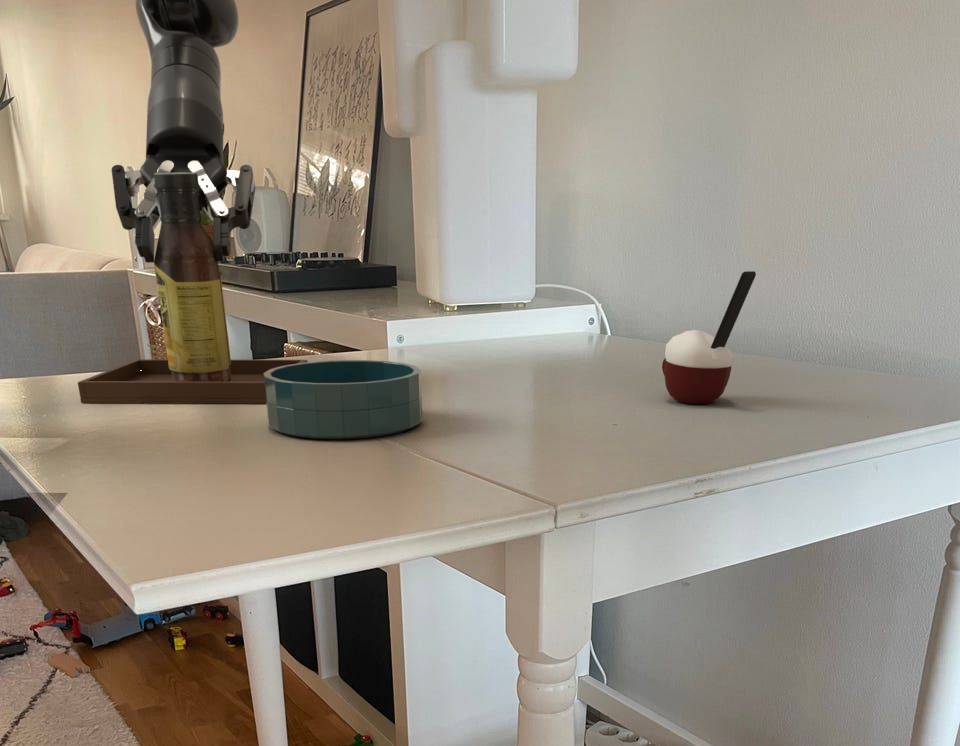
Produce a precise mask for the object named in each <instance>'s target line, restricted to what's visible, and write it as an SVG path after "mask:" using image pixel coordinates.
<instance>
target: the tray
mask: <svg viewBox="0 0 960 746" xmlns="http://www.w3.org/2000/svg"><path fill="white" fill-rule="evenodd" d="M306 362H309V360H308V359H231V365H230V370H231V381H230V382H199V381H173V379H172V371H171V370H170V369H169V364H168V358H167V359H166V358H165V359H161V358H159V359H152V358H151V359H150V358H149V359H147V358H146V359H141V358H140V359H137V358H136V359H134V360H130V361H128V362H126V363H123V364H121V365H117V366H116V367H113V368H110V369H108V370H106V371H103V372H100V373H98V374H95V375H92V376H90V377H87V378H85V379H82V380H80V381H78V382H77V386H78V393H79V399H80V403H81V404H220V405H221V404H222V405H223V404H227V405H228V404H230V405H232V404H233V405H234V404H237V405H238V404H241V405H242V404H243V405H245V404H249V405H250V404H252V405H253V404H254V405H255V404H256V405H258V404H259V405H260V404H263V405H266V398H265V388H264V377H263V373H265V372H266V371H268V370H270V369H273V368H276V367H280V366H285V365H291V364H298V363H306ZM140 370H142V371H140Z"/></svg>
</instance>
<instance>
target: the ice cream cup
mask: <svg viewBox="0 0 960 746" xmlns="http://www.w3.org/2000/svg"><path fill="white" fill-rule="evenodd" d="M756 276H757V273H756V271H755V270H754V271H751V270H750V271H748V270H747V271H742V272H741V275H740V277H739V280H738V281H737V284H736V287H735V289H734V291H733V294H732V296H731V299H730V300H729V303H728V306H727V307H726V309H725V313H724V315H723V317H722V318H721V319H722V320H721V322H720V324H719V326H718V329H717V332H716V334H715V336H713V335H711V334H709V333H707V332H705V331H702V330H699V329H692V330H686V331H683V332H682V333H679V334H675V335H673V336H672V338H670V340H669V341H668V342H667V343H666V344H665V351H664V352H665V354H664V357H665V358H664V359H663V360H662V363H661V364H662V365H661V369H662V373H663V377H664V382H665V388H666V391H667V392H668V394H669V396H671V398H673V400H675V401H676V402H679V403H684V404H689V405H690V404H691V405H707V404H711V403H713V402H715V401H716V400H717V399H719V398H720V397H721V396H722V395H723V394H724V392H725V390H726V388H727V385H728V383H729V380H730V377H731V372H732V367H733V365H734V364H733V363H734V361H735V360H734V359H735V357H734V355H733V353H732V352H731V351H730V349H729V348H728V347H727V346H726V344H727V343H728V340H729V338H730V336H731V333H732V331H733V328H734V326H735V324H736V322H737V319H738V318H739V315H740V313H741V310H742V309H743V307H744V306H743V305H744V304H745V301H746V299H747V297H748V294H749V292H750V290H751V288H752V285H753V284H754V281H755V278H756Z"/></svg>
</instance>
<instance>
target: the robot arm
mask: <svg viewBox="0 0 960 746" xmlns="http://www.w3.org/2000/svg"><path fill="white" fill-rule="evenodd" d="M135 12H136V16H137V20H138V24H139V26H140V28H141V31H142V33H143V35H144V38H145V40H146V43H147V47H148V48H147V49H148V51H149V56H150V62H151V63H150V64H151V67H150V68H151V69H150V90H149V93H148V98H147V110H146V111H147V112H146V138H145V139H146V140H145V141H146V142H145V161H144V162H143V163H142V165H141V166H140V168H139V169H138V170H137V169H136V170H126V171H125V167H124V166H123V165H121V164H115V165H113V166H112V167H111V177H112V185H113V186H112V187H113V194H114V203H115V209H116V211H117V215H118V217H119V221H120V223H121V226H122V229H124V230H126V231H131V230H133V229H135V230H134V231H135V232H134V233H135V235H134V237H135V238H134V243H135V246H136V250H137V253H138V255H139V257H140V258H144V261H145V264H146V263H147V264H148V263H154V259H155V241H156V239H155V230H156V228H157V226H158V225H159V224H160V223H161V220H160V217H161V212H160V205H159V198H158V192H157V190H156V188H155V182H154V173H178V172H181V173H197V176H198V185H199V188H198V200H199V208H200V212H201V211H203V210H204V212H205V213H206V214H207V216H208V217H209V219H210V221H211V222H212V223H213V231H212V234H213V236H212V237H213V239H212V241H213V245H214V252H215V256H216V261H217V262H218V263H224V262H225V257H229V256H230V255H231V253H232V231H233V230H234V229H236V228H239V229H241V230H247V229H249V228H250V226H251V221H252V214H253V207H254V201H255V193H256V184H255V177H254V172H253V167H252V166H251V165H249V164H242V165H241V166H240V168H239V170H236V169H235V170H233V169H227V167H226V165H225V164H224V135H225V123H224V111H223V105H222V98H221V89H222V88H221V79H222V78H221V77H222V76H221V73H222V72H221V63H220V59H219V56H218V54H217V52H216V50H215V48H220V47H224V46H226V45H228V44H230V43H232V41H233V40H234V39H235V37H236V35H237V32H238V29H239V11H238V7H237V3H236V0H135ZM141 185H143V186H144V187H145V189H144V192H143V198H142V200H141V201H140V202H139V204H138V205H137V207H135V208H134V207H133V200H132V198H135V197H136V193H137V192H138V189H139V187H140V186H141ZM228 185H230V186H231V187H232V191H233V192H234V193H235V198H234V204H233V206H231V207H227V206H226V204H225V203H224V201H223V199H222V198H221V196H220V195H221V193H222V192H223V191H224V190H225V189H226V188H227V187H228Z"/></svg>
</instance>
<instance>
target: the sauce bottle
mask: <svg viewBox="0 0 960 746" xmlns="http://www.w3.org/2000/svg"><path fill="white" fill-rule="evenodd" d="M154 182H155V188H156V190H157V192H158V198H159V205H160V212H161V217H160V220H161V221H160V227H159V228H160V229H159V234H158V239H157V243H156V249H155V253H154V262H153V267H154V273H155V281H156V287H157V293H158V302H159V308H160V314H161V322H162V323H161V324H162V328H163V335H164V342H165V350H166V356H167V359H168V364H169V369H170V370H171V371H172V379H173V381H199V382H230V381H231V370H230V365H231V360H232V359H231V351H230V342H229V334H228V325H227V317H226V308H225V307H226V306H225V298H224V290H223V282H222V276H221V274H220V267H219V262H217V261H216V256H215V252H214V245H213V239H212V237H211V236H210V235H209V234H208V232H207V231H206V229H205V228H204V226H203V225H202V219H203V218H202V217H203V216H202V214H201V211H200V208H199V200H198V188H199V185H198V176H197V173H181V172H178V173H154Z"/></svg>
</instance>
